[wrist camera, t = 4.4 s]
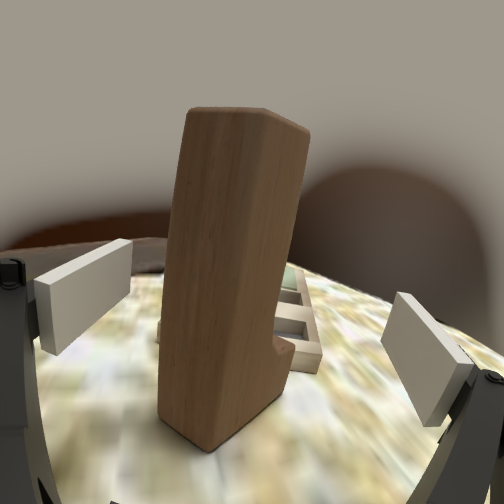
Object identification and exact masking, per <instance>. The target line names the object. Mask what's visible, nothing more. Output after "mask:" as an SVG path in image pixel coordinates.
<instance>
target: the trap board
mask: <svg viewBox="0 0 504 504" xmlns="http://www.w3.org/2000/svg"><path fill="white" fill-rule="evenodd" d="M160 325H161V319H160V321H159V322H158V331H157V343H160ZM273 334H274V335H276V336H278V337H281V338H283V339H285V340H287V341H290V342H292V343H294V344H295V353H294V356H293V360H292V363H291V367H290V370H294V371H301V372H308V373H315V374H317V371H318V368H319V365H320V361H321V358H322V355H323V354H322V349H321V345H320V340H319V336H318V331H317V327H316V322H315V318H314V314H313V309H312V305H311V301H310V297H309V293H308V288H307V284H306V280H305V276H304V272H303V270H297V269H294V268H292V267H287V266H286V267H285V271H284V276H283V281H282V285H281V290H280V295H279V299H278V304H277V308H276V313H275V319H274V332H273Z"/></svg>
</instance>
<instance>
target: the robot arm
mask: <svg viewBox="0 0 504 504" xmlns="http://www.w3.org/2000/svg"><path fill="white" fill-rule="evenodd" d="M132 247H133V241H129V240H125V239H117V240H115V241H113V242H111V243H108V244H106V245H104V246H102V247H100V248H97V249H95V250H93V251H91V252H89V253H87V254H85V255H82V256H80V257H78V258H76V259H74V260H72V261H70V262H68V263H66V264H64V265H62V266H59V267H57V268H55V269H53V270H51V271H49V272H47V273H45V274H43V275H41V276H39V277H37V278H35V279H33V280H31V281H29V282H27V283H26V270H25V262H24V261H23V260H21V259H18V258H3V259H0V504H62V503H61V501H60V498H59V495H58V492H57V488H56V485H55V481H54V477H53V473H52V469H51V465H50V461H49V456H48V451H47V447H46V442H45V436H44V431H43V425H42V419H41V412H40V405H39V397H38V388H37V378H36V366H35V350H34V343H33V340H34V339H35V338H37V337H38V336H39V337H40V344H41V349H42V350H44V351H46V352H48V353H51V354H53V355H55V356H58V355H59V354H60V353H61V352H62V351H63V350H64V349H65V348H67V347H68V346H69V345H70V344H71V343H72V342H73V341H74V340H76V339H77V338H78V337H79V336H80V335H81V334H82V333H84V332H85V331H86V330H87V329H88V328H89V327H90V326H92V325H93V324H94V323H95V322H96V321H97V320H98V319H100V318H101V317H102V316H103V315H104V314H105V313H107V312H108V311H109V310H110V309H111V308H112V307H114V306H115V305H116V304H117V303H118V302H120V301H121V300H122V299H123V298H124V297H125V296H127V295H128V294H129V293H130V278H131V261H132ZM381 343H382V345H383V347H384V348H385V350H386V352H387V354H388V356H389V358H390V360H391V362H392V364H393V366H394V368H395V370H396V372H397V374H398V375H399V377H400V379H401V381H402V383H403V385H404V387H405V389H406V391H407V393H408V395H409V397H410V400H411V402H412V404H413V406H414V408H415V410H416V412H417V414H418V416H419V418H420V420H421V422H422V425H423V427H438V426H441V424H442V423H443V421H444V419H445V418H446V416H447V414H449V416H450V418H451V419H452V421H451V422H450V424H449V425H448V427H447V429H446V430H445V432H444V433H443V435H442V436H441V438H440V439H439V441H438V442H437V443H439V446H438V448H437V450H436V452H435V454H434V456H433V458H432V460H431V461H430V463H429V465H428V467H427V469H426V471H425V472H424V474H423V476H422V478H421V480H420V481H419V483H418V485H417V486H416V488H415V490H414V491H413V493H412V495H411V496H410V498H409V500H408V501H407V503H406V504H484V502H485V499H486V496H487V493H488V489H489V485H490V504H504V378H503V377H502V376H501V375H500V374H498V373H497V372H495V371H491V370H486V369H483V370H480V369H479V368H478V366H477V365H476V364H475V363H474V362H473V361H472V359H471V358H469V356H468V355H467V354H466V353H465V351H464V350H463V349H462V348H461V347H460V346H459V345H458V344H456V342H455V341H454V340H453V339H452V338H451V337H450V336H449V335H448V334H447V332H446V331H445V330H444V329H443V328H442V327H441V326H440V325H439V324H438V323H437V322H436V321H435V319H434V318H433V317H432V316H431V315H430V314H429V313H428V312H427V311H426V310H425V309H424V308H423V307H422V306H421V305H420V304H419V303H418V301H417V300H416V299H415V298H414V297H413V296H412V295H411V294H407V293H402V292H397V294H396V297H395V300H394V303H393V306H392V309H391V312H390V315H389V318H388V321H387V324H386V327H385V330H384V333H383V335H382V338H381ZM110 504H118V503H116V502H113V501H111V502H110Z"/></svg>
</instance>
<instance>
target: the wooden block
mask: <svg viewBox="0 0 504 504" xmlns="http://www.w3.org/2000/svg"><path fill="white" fill-rule="evenodd" d="M309 143H310V132H309V130H307V129H306V128H304V127H302V126H300V125H298V124H296V123H294V122H292V121H290V120H288V119H286V118H284V117H282V116H280V115H277V114H276V113H273V112H271V111H269V110H267V109H265V108H248V107H195V108H191V109H190V110H189V111H188V113H187V115H186V121H185V126H184V132H183V137H182V143H181V149H180V155H179V161H178V167H177V175H176V181H175V188H174V195H173V202H172V210H171V217H170V226H169V234H168V243H167V252H166V262H165V273H164V284H163V296H162V310H161V325H160V343H159V366H158V415H159V416H160V418H161V419H162V420H164V421H165V422H166V423H167V424H169V425H170V426H171V427H173V428H174V429H175V430H176V431H178V432H179V433H180V434H182V435H183V436H184V437H186V438H187V439H189V440H190V441H191V442H193V443H194V444H195V445H197V446H198V447H200V448H201V449H203V450H204V451H207V452H210V451H212V450H213V449H215V448H216V447H217V446H219V445H220V444H221V443H222V442H224V441H225V440H226V439H227V438H229V437H230V436H231V435H232V434H234V433H235V432H236V431H237V430H239V429H240V428H241V427H242V426H243V425H245V424H246V423H247V422H248V421H249V420H251V419H252V418H253V417H254V416H255V415H257V414H258V413H259V412H260V411H261V410H262V409H263V408H265V407H266V406H267V405H268V404H269V403H270V402H271V401H273V400H274V399H275V398H276V397H277V396H278V395H279V394H280V393H282V392H283V391H284V387H285V384H286V381H287V377H288V374H289V370H290V367H291V363H292V360H293V356H294V353H295V344H294V343H292V342H290V341H287V340H285V339H283V338H281V337H278V336H276V335H274V334H273V332H274V319H275V313H276V308H277V304H278V299H279V295H280V290H281V285H282V281H283V276H284V271H285V267H286V262H287V256H288V252H289V247H290V242H291V238H292V233H293V228H294V223H295V217H296V212H297V207H298V202H299V197H300V191H301V186H302V181H303V176H304V170H305V165H306V160H307V154H308V148H309Z"/></svg>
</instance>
